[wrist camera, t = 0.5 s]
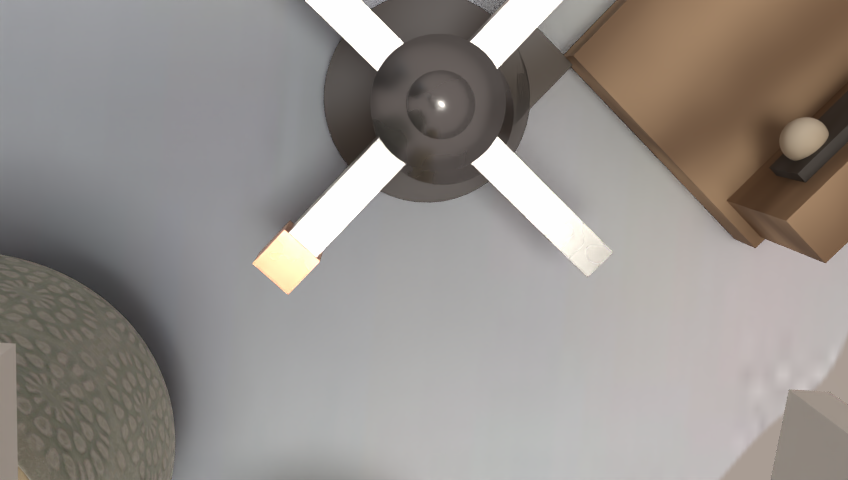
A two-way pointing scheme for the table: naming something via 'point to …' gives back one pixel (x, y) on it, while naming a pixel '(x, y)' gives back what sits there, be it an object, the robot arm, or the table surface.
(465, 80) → the silver cross-shaped piece
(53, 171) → the table surface
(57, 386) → the planter
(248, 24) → the table surface
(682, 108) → the stand
